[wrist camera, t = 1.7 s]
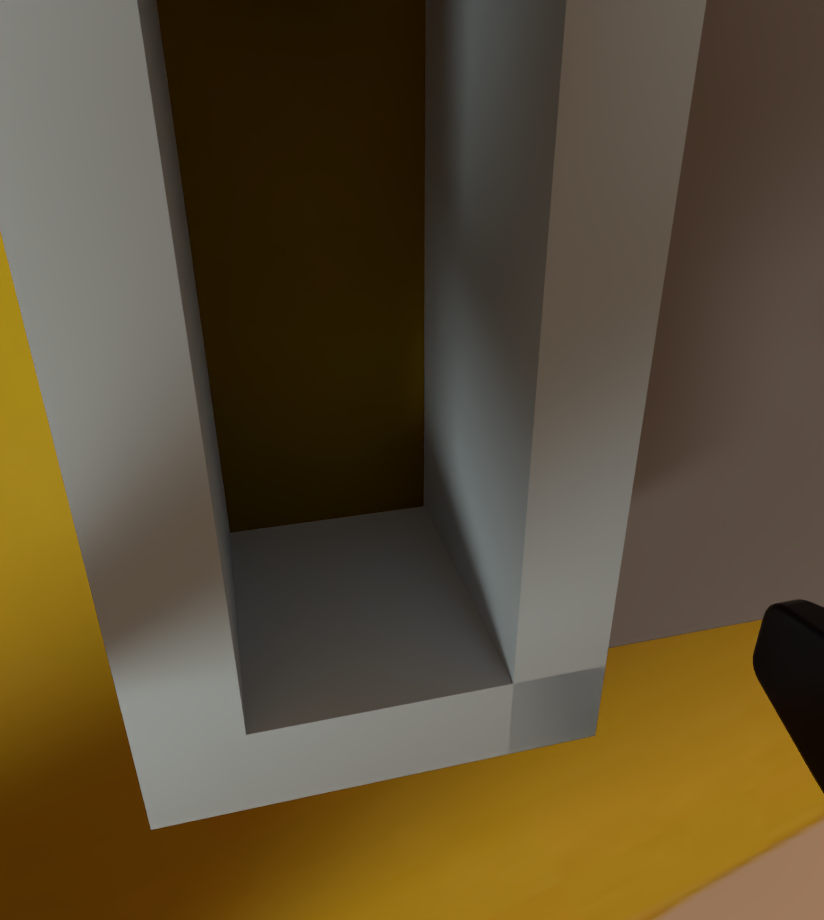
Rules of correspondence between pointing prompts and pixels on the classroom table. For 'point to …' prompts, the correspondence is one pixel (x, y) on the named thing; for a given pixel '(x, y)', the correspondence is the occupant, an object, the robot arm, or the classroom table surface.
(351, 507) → the classroom table surface
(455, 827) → the classroom table surface
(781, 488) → the mat
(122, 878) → the classroom table surface
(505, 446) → the c link
